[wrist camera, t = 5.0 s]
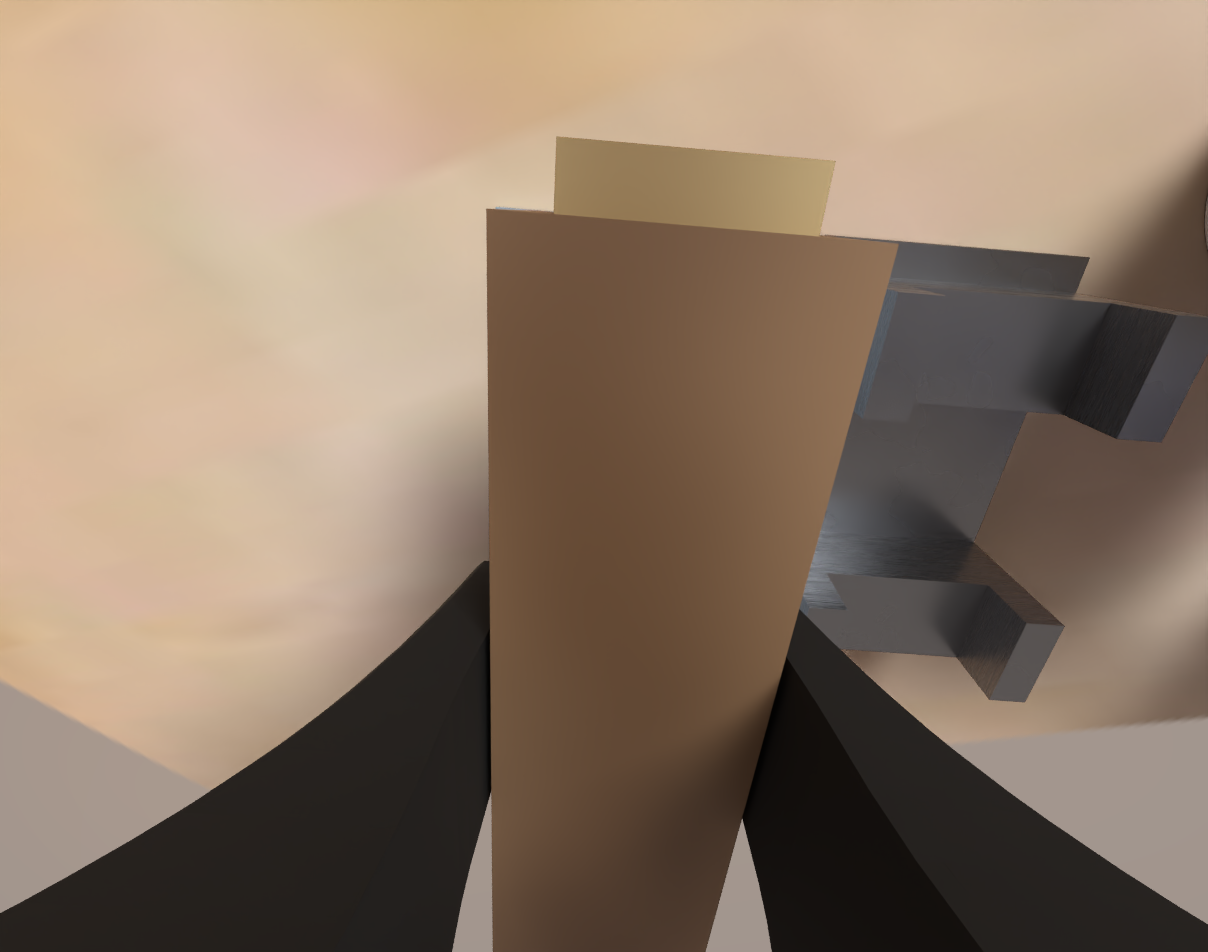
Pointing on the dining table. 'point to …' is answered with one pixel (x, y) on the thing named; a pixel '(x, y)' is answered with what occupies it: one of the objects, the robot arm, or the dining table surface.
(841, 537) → the stand
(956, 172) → the dining table surface
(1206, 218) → the coffee cup
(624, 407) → the rail
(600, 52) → the dining table surface
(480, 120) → the dining table surface
